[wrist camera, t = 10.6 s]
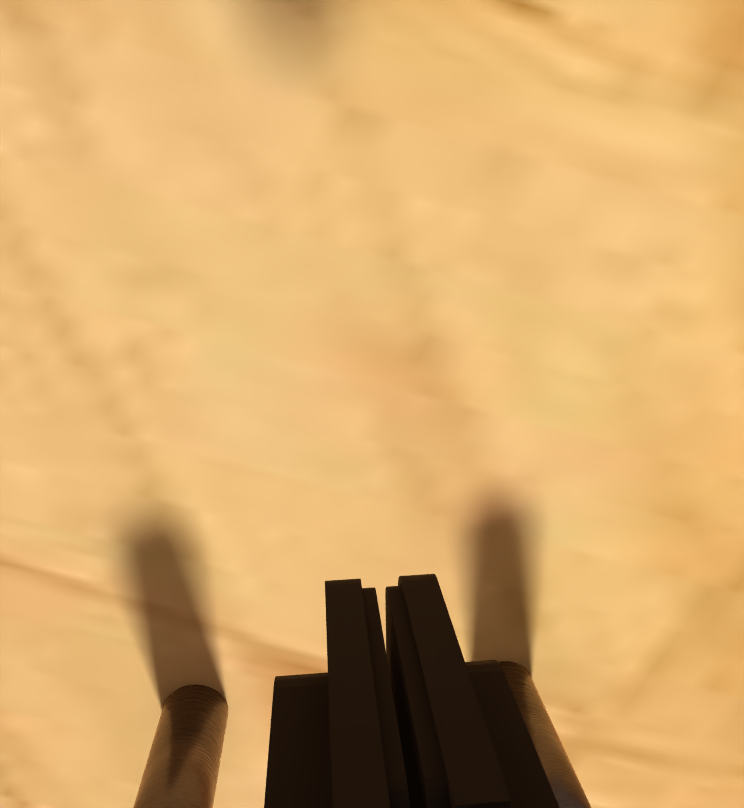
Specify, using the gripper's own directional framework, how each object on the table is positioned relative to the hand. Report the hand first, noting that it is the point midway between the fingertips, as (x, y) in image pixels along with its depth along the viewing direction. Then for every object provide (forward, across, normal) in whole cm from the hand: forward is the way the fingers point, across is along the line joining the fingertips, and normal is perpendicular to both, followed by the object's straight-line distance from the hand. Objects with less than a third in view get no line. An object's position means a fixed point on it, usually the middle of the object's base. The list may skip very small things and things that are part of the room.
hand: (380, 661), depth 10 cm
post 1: (+14, +6, +13) cm, 20 cm away
